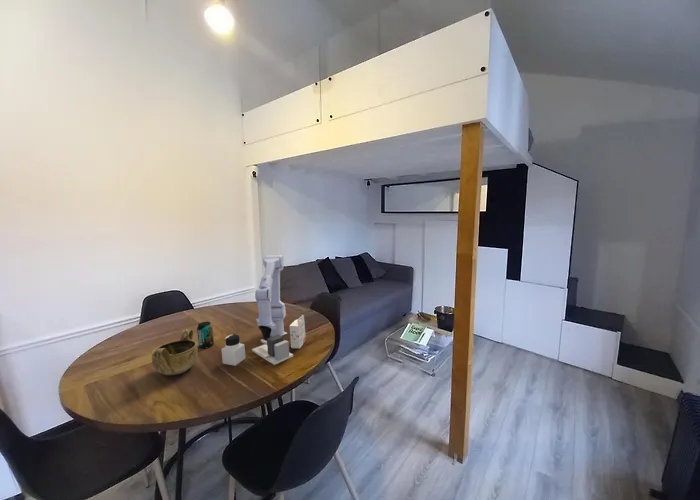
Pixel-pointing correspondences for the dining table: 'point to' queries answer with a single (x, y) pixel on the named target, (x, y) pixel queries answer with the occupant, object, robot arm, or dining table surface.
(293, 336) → the ink cartridge box
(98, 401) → the dining table surface
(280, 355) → the pipe stand
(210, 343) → the beverage can
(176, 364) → the ceramic bowl
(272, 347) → the grey square sleeve
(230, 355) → the medicine bottle
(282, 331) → the robot arm
